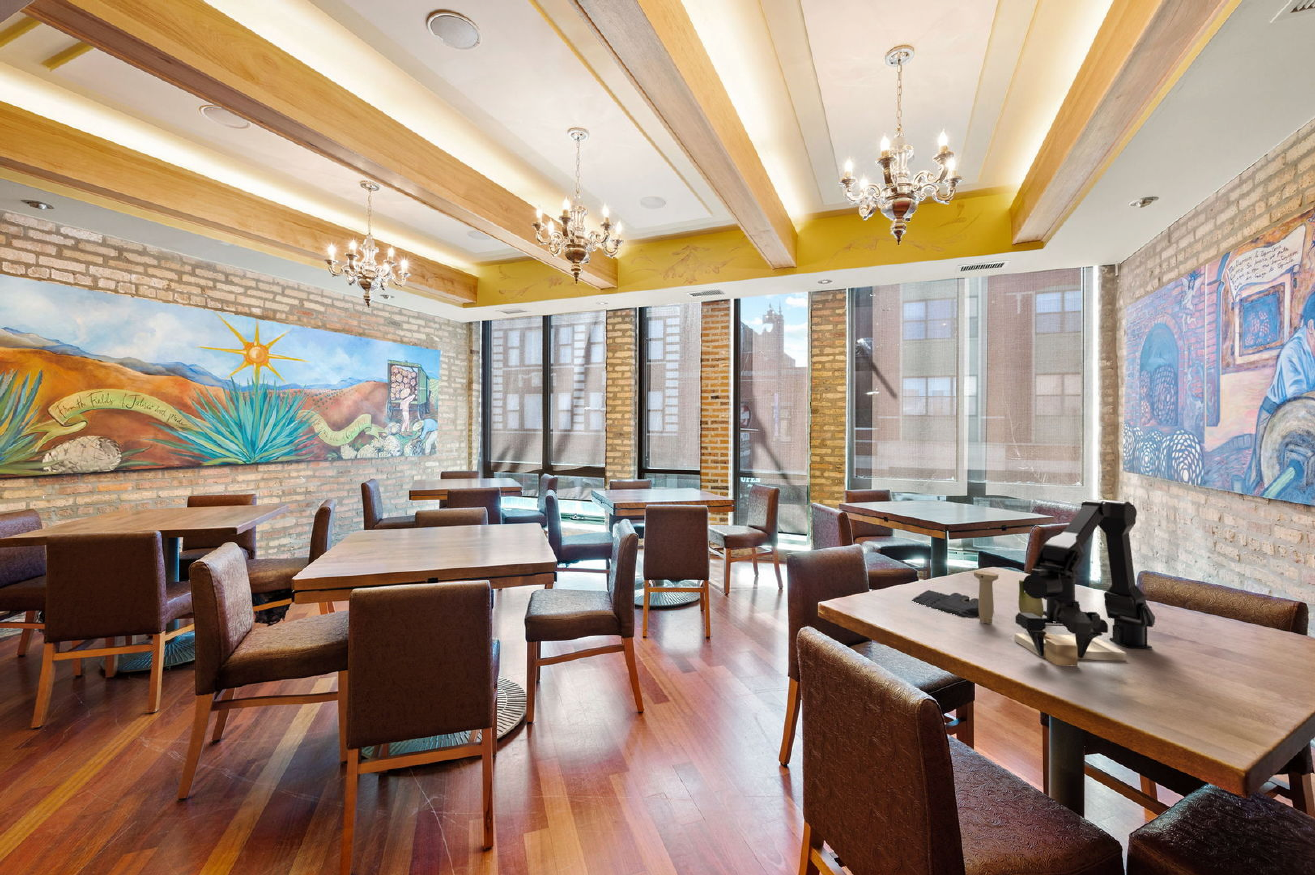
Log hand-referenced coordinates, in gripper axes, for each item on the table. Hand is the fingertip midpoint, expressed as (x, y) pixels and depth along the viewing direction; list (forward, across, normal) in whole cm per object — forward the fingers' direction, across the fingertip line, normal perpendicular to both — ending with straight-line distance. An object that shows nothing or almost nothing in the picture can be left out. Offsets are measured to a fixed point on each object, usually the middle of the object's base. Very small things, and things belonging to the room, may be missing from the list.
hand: (1060, 657), depth 135 cm
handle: (+1, -3, +29) cm, 30 cm away
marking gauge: (+1, 0, +3) cm, 4 cm away
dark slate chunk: (+2, -6, +45) cm, 46 cm away
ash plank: (+1, +7, +8) cm, 11 cm away
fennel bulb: (+2, +13, +34) cm, 37 cm away
